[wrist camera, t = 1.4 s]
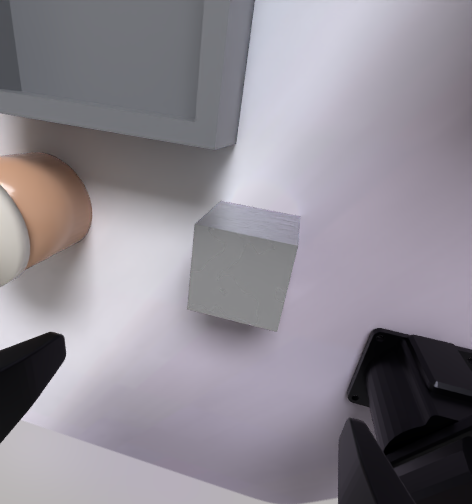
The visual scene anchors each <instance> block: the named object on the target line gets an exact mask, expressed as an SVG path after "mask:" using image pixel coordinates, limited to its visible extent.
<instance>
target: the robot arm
mask: <svg viewBox="0 0 472 504" xmlns="http://www.w3.org/2000/svg"><path fill="white" fill-rule="evenodd" d="M379 335H383V336H382V337H381V338H378V337H377V336H379ZM65 357H66V347H65V338H64V336H63V335H62V334H59V333H55V332H48V333H45V334H43V335H40V336H37V337H35V338H32V339H29V340H27V341H24V342H21V343H19V344H16V345H13V346H11V347H8V348H6V349H3V350H0V443H1V442H2V441H3V440H4V438H5V437H6V436H7V435H8V434H9V433H10V431H11V430H12V429H13V428H14V427H15V425H16V424H17V423H18V422H19V421H20V420H21V418H22V417H23V416H24V415H25V414H26V413H27V411H28V410H29V409H30V408H31V406H32V405H33V404H34V402H35V401H36V400H37V398H38V397H39V396H40V394H41V393H42V391H43V390H44V389H45V387H46V386H47V384H48V383H49V382H50V380H51V379H52V377H53V376H54V374H55V373H56V372H57V370H58V369H59V367H60V366H61V365H62V363H63V362H64V360H65ZM470 357H472V350H471V349H467V348H463V347H458V346H455V345H454V344H451V343H447V342H443V341H439V340H434V339H430V338H426V337H422V336H417V335H408V334H403V333H399V332H395V331H391V330H387V329H382V328H377V329H375V330H373V331H372V333H371V335H370V338H369V340H368V342H367V345H366V347H365V350H364V352H363V355H362V357H361V360H360V362H359V365H358V367H357V370H356V372H355V375H354V377H353V379H352V382H351V384H350V387H349V389H348V392H347V395H348V399H349V401H350V402H352V403H356V404H359V405H363V406H367V407H370V411H371V415H372V420H373V424H374V429H375V434H376V438H377V441H376V440H375V438H374V436H373V435H372V433H371V432H370V430H369V428H368V427H367V425H366V424H365V423H364V422H363V421H361V420H358V419H354V418H348V419H347V421H346V423H345V425H344V428H343V430H342V432H341V435H340V438H339V454H338V504H472V358H471V359H468V358H470ZM354 395H356V396H354Z"/></svg>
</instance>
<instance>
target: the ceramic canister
mask: <svg viewBox="0 0 472 504" xmlns="http://www.w3.org/2000/svg"><path fill="white" fill-rule="evenodd" d="M91 221H92V207H91V202H90V198H89V195H88V192H87V190H86V188H85V186H84V184H83V183H82V181H81V179H80V178H79V177H78V175H77V174H76V173H75V172H74V171H73V170H72V169H71V168H70V167H69V166H68V165H67V164H66V163H64V162H63V161H61V160H60V159H58V158H56V157H54V156H52V155H49V154H46V153H40V152H32V153H23V154H14V155H5V156H0V287H1V286H3V285H5V284H7V283H9V282H11V281H12V280H14V279H16V278H17V277H19V276H20V275H21V274H22V273H23V271H24V270H26V269H28V268H30V267H32V266H33V265H35V264H37V263H39V262H41V261H43V260H45V259H47V258H49V257H51V256H53V255H54V254H56V253H58V252H60V251H62V250H64V249H66V248H68V247H70V246H72V245H74V244H76V243H77V242H79V241H80V240H82V239H83V238H84V237H85V235H86V234H87V232H88V230H89V228H90V225H91Z"/></svg>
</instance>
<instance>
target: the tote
mask: <svg viewBox="0 0 472 504" xmlns="http://www.w3.org/2000/svg"><path fill="white" fill-rule="evenodd" d="M254 2H255V0H0V113H2V114H8V115H14V116H19V117H25V118H31V119H37V120H43V121H49V122H54V123H60V124H66V125H72V126H78V127H84V128H89V129H95V130H101V131H107V132H113V133H118V134H124V135H130V136H136V137H142V138H148V139H153V140H159V141H165V142H171V143H177V144H183V145H188V146H194V147H200V148H206V149H212V150H216V149H220V148H223V147H227V146H230V145H233V144H236V140H237V132H238V124H239V117H240V109H241V102H242V94H243V86H244V79H245V71H246V63H247V56H248V48H249V41H250V33H251V25H252V18H253V10H254Z"/></svg>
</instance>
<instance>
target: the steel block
mask: <svg viewBox="0 0 472 504" xmlns="http://www.w3.org/2000/svg"><path fill="white" fill-rule="evenodd" d="M299 227H300V216H296V215H291V214H286V213H281V212H276V211H270V210H265V209H260V208H255V207H250V206H245V205H240V204H235V203H230V202H225V201H220V202H219V203H218V204H217V205H216V206H214V207H213V208H212V209H211V210H210V211H209V212H208V213H207V214H205V215H204V216H203V217H202V218H201V219H200V220H199V221H198V222H196V223H195V227H194V238H193V250H192V261H191V272H190V284H189V295H188V306H187V309H188V310H192V311H196V312H200V313H204V314H207V315H211V316H215V317H219V318H223V319H227V320H231V321H235V322H239V323H243V324H247V325H251V326H255V327H259V328H263V329H267V330H271V331H275V332H277V330H278V326H279V321H280V317H281V313H282V309H283V305H284V301H285V297H286V293H287V289H288V285H289V281H290V277H291V272H292V268H293V264H294V260H295V256H296V252H297V248H298V240H299Z"/></svg>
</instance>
